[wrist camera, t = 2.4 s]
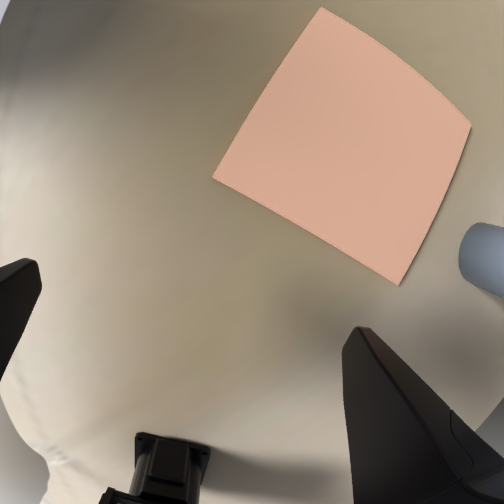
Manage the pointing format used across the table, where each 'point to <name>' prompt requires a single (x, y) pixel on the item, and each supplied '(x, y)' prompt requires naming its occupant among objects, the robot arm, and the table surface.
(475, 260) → the slate pillar
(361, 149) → the terracotta tile
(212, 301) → the table surface
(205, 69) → the table surface
